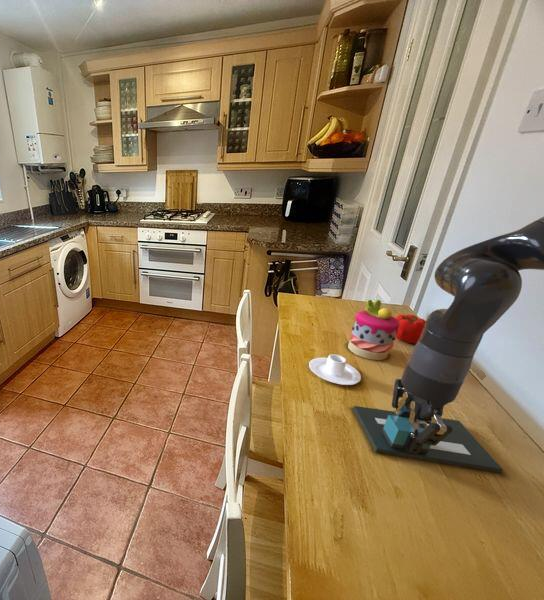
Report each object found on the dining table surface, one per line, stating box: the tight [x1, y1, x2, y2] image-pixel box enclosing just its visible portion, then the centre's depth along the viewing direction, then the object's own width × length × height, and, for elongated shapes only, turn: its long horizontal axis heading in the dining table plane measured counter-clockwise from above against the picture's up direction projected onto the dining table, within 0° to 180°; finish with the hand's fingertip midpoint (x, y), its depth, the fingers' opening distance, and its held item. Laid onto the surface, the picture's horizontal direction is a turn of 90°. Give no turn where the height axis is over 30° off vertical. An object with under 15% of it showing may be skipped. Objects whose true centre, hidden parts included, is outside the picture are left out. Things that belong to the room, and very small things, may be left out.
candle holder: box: [308, 353, 362, 386], centre depth 83 cm, size 12×12×4 cm
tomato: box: [394, 313, 426, 344], centre depth 99 cm, size 9×9×8 cm
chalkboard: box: [352, 405, 504, 474], centre depth 64 cm, size 20×12×1 cm, turn 77°
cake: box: [347, 299, 400, 361], centre depth 91 cm, size 10×11×15 cm
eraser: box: [382, 415, 431, 453], centre depth 61 cm, size 6×4×4 cm, turn 77°
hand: (403, 441), depth 62 cm, fingers closed on eraser, 4 cm apart
